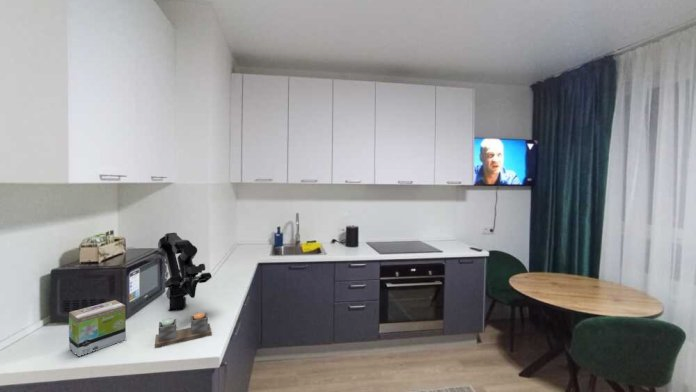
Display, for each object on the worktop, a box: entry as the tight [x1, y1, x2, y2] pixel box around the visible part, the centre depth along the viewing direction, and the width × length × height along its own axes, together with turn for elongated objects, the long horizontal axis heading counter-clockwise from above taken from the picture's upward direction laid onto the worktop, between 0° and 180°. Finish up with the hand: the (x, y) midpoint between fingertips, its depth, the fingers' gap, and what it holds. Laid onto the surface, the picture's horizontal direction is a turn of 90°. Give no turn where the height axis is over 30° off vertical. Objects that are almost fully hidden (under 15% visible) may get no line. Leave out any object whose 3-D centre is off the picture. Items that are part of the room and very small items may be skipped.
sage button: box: [160, 317, 175, 327], centre depth 120 cm, size 4×4×2 cm
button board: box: [154, 312, 213, 349], centre depth 123 cm, size 20×8×7 cm, turn 121°
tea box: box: [68, 299, 127, 357], centre depth 117 cm, size 15×10×15 cm
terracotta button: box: [193, 311, 206, 320], centre depth 126 cm, size 4×4×2 cm
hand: (193, 297), depth 133 cm, fingers closed
